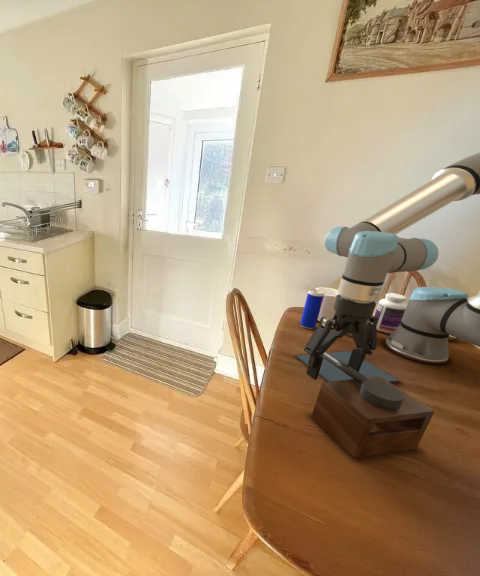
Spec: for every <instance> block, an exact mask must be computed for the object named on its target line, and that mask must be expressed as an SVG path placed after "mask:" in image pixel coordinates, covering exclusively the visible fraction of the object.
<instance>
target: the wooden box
mask: <svg viewBox="0 0 480 576" xmlns="http://www.w3.org/2000/svg"><path fill="white" fill-rule="evenodd" d="M368 379H369V380H375V381H380V382H383V383H386V384H389V385H391V386H393V387H395V388H396V389H398V390H399V391H400V392H401V393H402V394H403V395H404V399H403V402H402V404H401V406H400V408H399V409H396V410H389V409H384V408H380V407H378V406H375V405H373V404H371V403H369V402H368V401H366V400H365V399H364V398H362V396H361V395H360V389H361V386H362V385H361V384H360V383H359V382H357V381H356V380H354V379H349V380H340V381H330V382H328V381H323V382H321V384H320V388H319V391H318V395H317V397H316V400H315V404H314V406H313V411H312V413H311V417H310V418H311V419H312V420H313V421H314V422H315V423H316V424H317V425H318V426H319V427H320V428H322V430H323V431H325V432H326V433H327V434H328V436H330V437H331V438H332V439H333V440H334V441H335V442H336V443H337V444H338V445H339V446H340V447H341V448H342V449H343V450H344V451H345V452H346V453H347V454H348V455H349V456H350V457H352V458H353V459H355V458H362V457H363V458H364V457H369V456H377V455H385V454H392V453H393V454H394V453H398V452H399V453H401V452H406V451H414V450H417V448H418V447H419V444H420V442H421V440H422V438H423V436H424V435H425V432H426V431H427V428H428V426H429V424H430V422H431V420H432V418H433V416H434V413H435V412H436V411H435V409H432V408H431V407H429V406H427V404H424V403H423V402H421V401H419V400H418V398H417V399H416V398H415V397H413V396H412V395H411V394H409V393H407V392H406V391H404V390H403V389H400V388H399V387H398V386H397V385H394V384H393V383H390V382H388V381H387V380H385V379H383V378H382V377H380V376H378V377H368ZM374 424H376V425H377V426H379V427H380V428H381V429H382V430H378V431H372V427H373V425H374Z"/></svg>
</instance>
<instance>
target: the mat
mask: <svg viewBox="0 0 480 576" xmlns="http://www.w3.org/2000/svg"><path fill="white" fill-rule="evenodd" d="M329 353H330V354H332V355H333V356H335V357H336V358H338V359H339V360H341V361H342V362H344V363H345V364H347V365H348V362H349V359H350V356H351V353H352V351H351V350H344V351H336V352H335V351H334V352H333V351H332V352H329ZM309 357H310V355H309V354H302V355H296V358H297V359H298V360H300V361H301V362H302V363H304V364H305V366H307V367H308V366H309V365H308V360H309ZM321 357H322V356H321ZM359 373H361V374H362V375H364V376H365V377H367V378H368V377H378V376H380V377H382V378H383V379H385V380H387V381H388V382H390V383H391V384H393V383H398V382H399V380H398V379H397V378H395V377H394V376H392V375H390V374H388V373H387V372H386V371H383V370H382V369H381V368H379V367H378V366H375V365H374V364H372V363H370V361H367V360H366V359H364V361H363V363H362V365H361V367H360V370H359ZM318 376H321V377H322V378H323V379H324V380H325V381H326V382H330V381H340V380H349V379H353V378H351V377H350V376H348V375H347V374H346V373H344V372H343V371H341V370H340V369H338V368H337V367H336V366H334V365H333V364H331V363H330V362H328V361H327V360H325V359H324V358H323V361H322V365H321V368H320V371H319V374H318Z"/></svg>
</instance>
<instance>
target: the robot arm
mask: <svg viewBox="0 0 480 576" xmlns="http://www.w3.org/2000/svg"><path fill="white" fill-rule="evenodd" d="M475 195H480V152H477V153H475V154H472V155H469V156H466V157H465V158H462V159H460V160H458V161H455V162H454V163H452V164H450V165H448V166H445V167H444V168H442V169H440V170H439V171H437V172H436V173H435V174H434V175H433V176H432V178H431V180H429V181H428V182H425V183H424V184H422V185H420V186H419V187H417V188H415V189H414V190H412V191H410V192H409V193H406V194H405V195H403V196H402V197H399V198H398V199H396V200H395V201H394V202H392V203H390V204H389V205H386V206H385V207H382V209H379V210H378V211H376V212H375V213H373V214H371V215H369V216H368V217H366V218H365V219H362V220H361V221H360V222H358V223H356V224H354V225H352V226H351V227H348V226H336V227H334V228H332V229H331V230H330V231H328V233H327V234H326V235H325V238H324V248H325V249H326V251H328V252H329V253H332V254H334V255H337V256H339V257H344V258H346V262H345V267H344V271H343V273H342V276H341V279H340V282H339V286H338V289H337V290H338V295H337V296H336V299H335V302H334V306H333V308H334V311H335V314H334V316H333V317H332V318H329V319H327V318H325V317H322V318H321V319H320V321H318V322H319V323H318V325H317V326H316V328H315V330H314V332H313V333H312V335H311V337H310V338H309V340H308V341H307V343H306V344H305V346H304V348H303V351H304V352H305V353H306V354H307V355H310V357H309V360H308V365H309V366H307V370H306V375H307V376H309V377H310V378H311V379H312V380H314V381H316V380H318V377H319V371H320V368H321V365H322V361H323V357H321V356H322V355H323V354H324V352H325V351H327V350H328V349H329V348H330V347H331V346H333V344H334V343H335V342H336V341H337V340H338V339H341V338H342V337H343V336H345V335H346V334H349V333H350V334H352V336H353V337H352V339H353V342H354V344H355V347H356V348H352V351H351V352H352V353H351V356H350V359H349V362H348V366H350V367H352V368H353V369H355V370H356V371H358V372H359V370H360V367H361V365H362V363H363V361H364V360H366V356H367V355H368V356H371V355H372V354H373V352H374V351H376V350H377V345H378V343H377V342H378V341H377V340H378V339H377V337H378V335H377V332H378V331H377V323H378V320H379V318H378V317H375V316H374V313H375V309H376V306H377V303H376V301H378V299H379V296H380V293H381V290H382V288H383V285H384V283H385V280H386V277H387V275H388V274H392V273H405V272H407V273H410V272H411V273H413V272H416V271H421V270H426V269H428V268H430V267H431V266H433V265H434V264H435V263H436V262H437V260H438V258H439V254H440V253H439V248H438V246H437V245H436V244H435V243H434V242H433V241H432V240H430V239H426V238H419V237H418V238H417V237H411V238H404V237H399V236H398V234H399V233H401V232H403V231H404V230H406V229H408V228H410V227H411V226H414V225H415V224H416V223H419V222H420V221H421V220H423V219H425V218H427V217H429V216H430V215H432V214H434V213H436V212H437V211H439V210H441V209H442V208H445V207H446V206H448V205H449V204H451V203H453V202H459V201H464V200H466V199H468V198H469V197H472V196H475ZM450 336H451V337H453V338H451V337H450ZM454 339H455V340H454ZM456 339H457V340H456ZM458 339H459V340H460V341H463V342H466V343H469V344H471V345H474V346H476V347H478V348H480V290H479V291H478V294H476V295H473V296H470V297H469V294H468V293H467V292H465V291H464V290H461V289H456V288H449V287H442V286H419V287H417V288H415V289H414V290H413V291H412V293H411V295H410V297H409V298H408V302H407V307H406V310H405V313H404V315H403V318H402V321H401V323H400V326H399V327H398V328H397V329H396V330H395V331H394V332H393V333H392V334H389V335H388V337H387V338H386V340H385V342H384V345H385V347H386V348H387V349H388V350H390V351H391V352H392V353H394V354H396V355H398V356H400V357H402V358H406V359H408V360H411V361H414V362H418V363H422V364H427V365H444V364H446V363H447V362H448V360H449V357H450V352H449V342H458V341H459V340H458Z"/></svg>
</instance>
